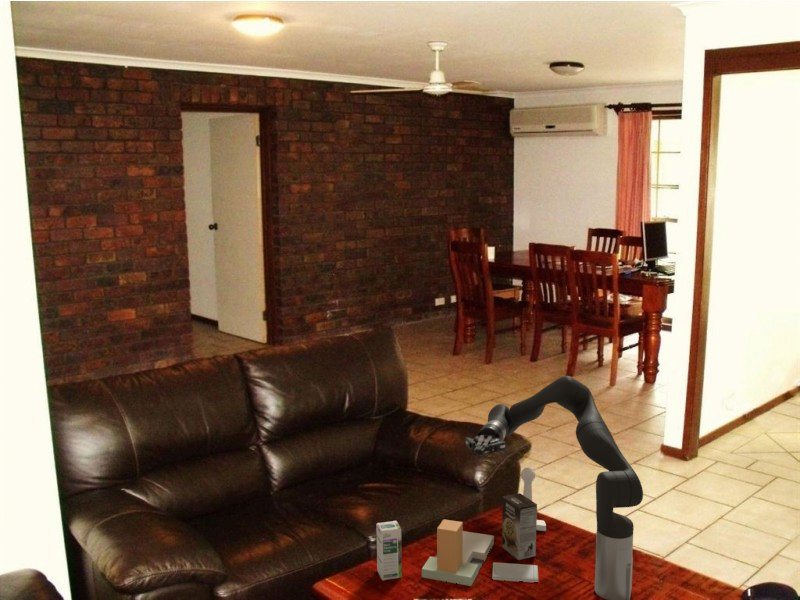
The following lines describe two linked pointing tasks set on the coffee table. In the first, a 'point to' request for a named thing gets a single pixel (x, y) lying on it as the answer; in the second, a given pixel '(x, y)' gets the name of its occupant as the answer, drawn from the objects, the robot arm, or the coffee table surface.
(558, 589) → the coffee table surface
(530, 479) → the joystick
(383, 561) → the syrup box
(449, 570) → the orange block
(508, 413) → the robot arm
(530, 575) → the hard drive
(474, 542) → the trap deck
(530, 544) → the coffee box
